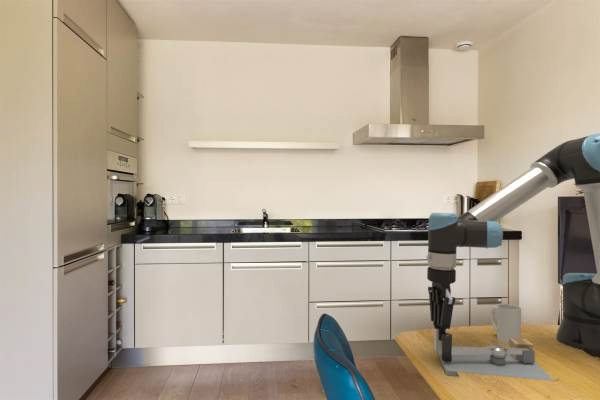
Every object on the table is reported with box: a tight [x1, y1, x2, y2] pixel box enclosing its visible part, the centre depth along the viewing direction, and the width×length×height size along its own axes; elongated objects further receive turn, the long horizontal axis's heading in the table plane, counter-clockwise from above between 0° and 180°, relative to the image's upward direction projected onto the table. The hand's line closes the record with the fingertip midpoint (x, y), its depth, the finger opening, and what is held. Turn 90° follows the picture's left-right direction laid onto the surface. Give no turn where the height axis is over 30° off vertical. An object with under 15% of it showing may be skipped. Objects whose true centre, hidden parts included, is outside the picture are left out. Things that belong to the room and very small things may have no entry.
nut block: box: [508, 338, 534, 360], centre depth 103 cm, size 4×4×4 cm
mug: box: [489, 303, 522, 345], centre depth 118 cm, size 10×7×12 cm, turn 21°
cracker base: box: [436, 344, 555, 382], centre depth 101 cm, size 25×18×3 cm
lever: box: [442, 332, 536, 363], centre depth 100 cm, size 25×4×7 cm, turn 91°
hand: (439, 350), depth 103 cm, fingers closed
